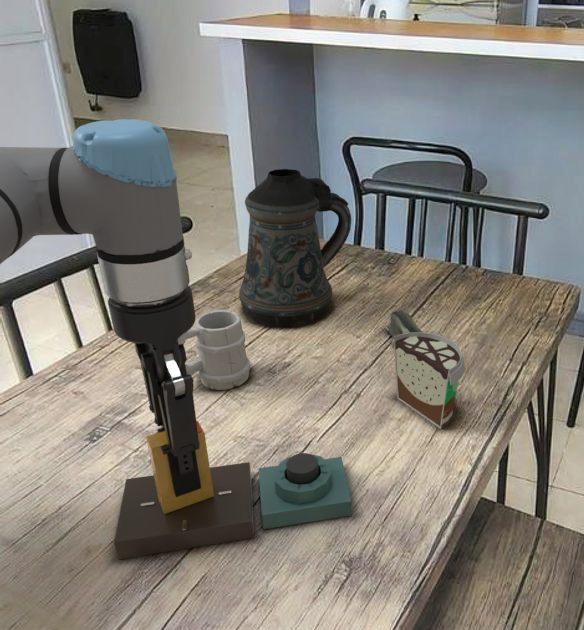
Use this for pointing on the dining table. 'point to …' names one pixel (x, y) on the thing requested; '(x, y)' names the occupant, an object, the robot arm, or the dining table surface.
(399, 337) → the food container
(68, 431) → the dining table surface
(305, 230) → the beer stein
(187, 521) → the lock plate
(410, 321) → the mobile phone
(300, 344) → the dining table surface
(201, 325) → the mug
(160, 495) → the lock knob
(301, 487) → the push button box
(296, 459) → the bell button
